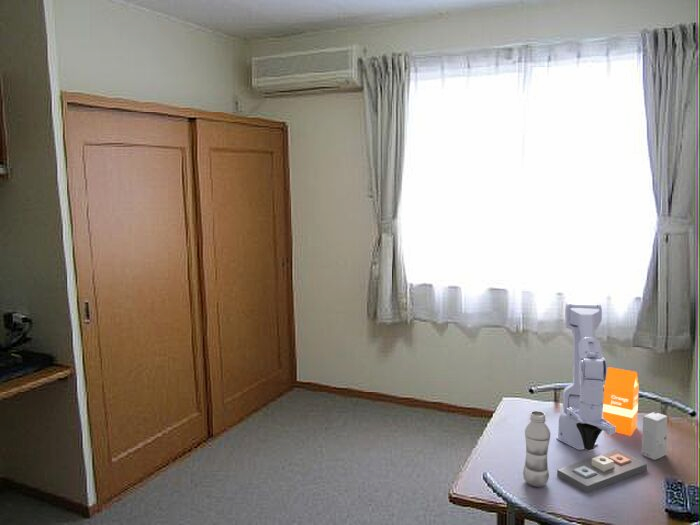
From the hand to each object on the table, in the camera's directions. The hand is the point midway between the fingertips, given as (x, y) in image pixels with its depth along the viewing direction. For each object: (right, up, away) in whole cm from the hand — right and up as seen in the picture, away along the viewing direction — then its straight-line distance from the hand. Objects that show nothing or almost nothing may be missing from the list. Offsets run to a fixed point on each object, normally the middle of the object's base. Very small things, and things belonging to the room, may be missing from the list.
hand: (588, 448), depth 158 cm
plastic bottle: (-15, -9, -1) cm, 18 cm away
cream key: (+5, -6, +3) cm, 8 cm away
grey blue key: (-1, -8, 0) cm, 8 cm away
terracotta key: (+11, -7, +6) cm, 15 cm away
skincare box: (+25, -6, +13) cm, 29 cm away
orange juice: (+23, -4, +32) cm, 39 cm away
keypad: (+5, -8, +3) cm, 10 cm away
